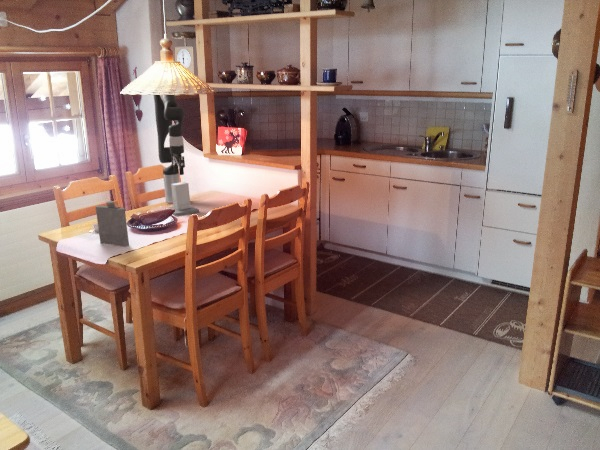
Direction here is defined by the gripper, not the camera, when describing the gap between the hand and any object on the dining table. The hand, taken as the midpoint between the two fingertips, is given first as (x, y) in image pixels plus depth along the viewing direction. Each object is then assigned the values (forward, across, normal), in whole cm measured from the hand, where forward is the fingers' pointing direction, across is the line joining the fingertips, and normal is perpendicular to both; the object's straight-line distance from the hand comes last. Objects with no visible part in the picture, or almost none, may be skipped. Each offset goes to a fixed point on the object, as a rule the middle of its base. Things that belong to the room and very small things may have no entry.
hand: (179, 173), depth 294 cm
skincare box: (+20, 0, 0) cm, 20 cm away
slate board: (+22, 0, 0) cm, 22 cm away
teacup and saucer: (+22, +14, -49) cm, 56 cm away
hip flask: (+21, +38, -47) cm, 64 cm away
